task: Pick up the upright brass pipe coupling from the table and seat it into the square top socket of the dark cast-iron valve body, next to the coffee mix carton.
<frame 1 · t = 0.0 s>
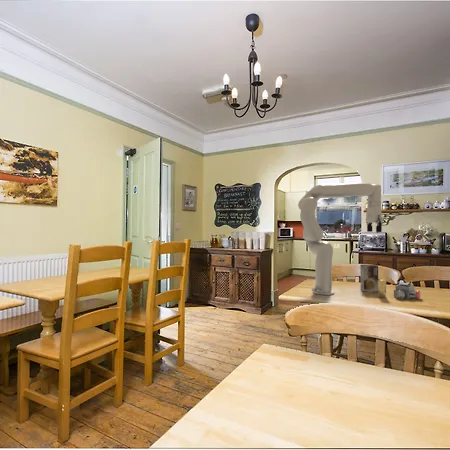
hand: (374, 231, 189), 37 cm above the table, tool pointing down, fingers open, 9 cm apart
valve body: (404, 296, 176), on the table
coffee box: (369, 290, 193), on the table
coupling: (382, 297, 175), on the table
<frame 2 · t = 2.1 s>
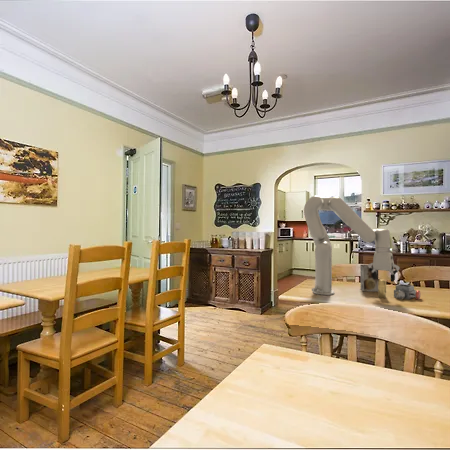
hand: (383, 280, 175), 10 cm above the table, tool pointing down, fingers open, 9 cm apart
nothing on the table moved.
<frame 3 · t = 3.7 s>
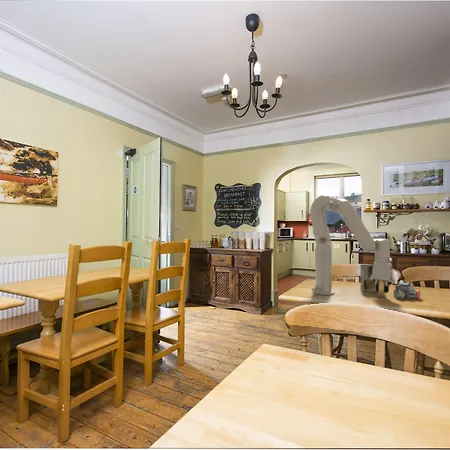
hand: (382, 291, 175), 3 cm above the table, tool pointing down, fingers closed on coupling, 4 cm apart
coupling: (382, 297, 175), on the table, touching gripper
everything else where it was.
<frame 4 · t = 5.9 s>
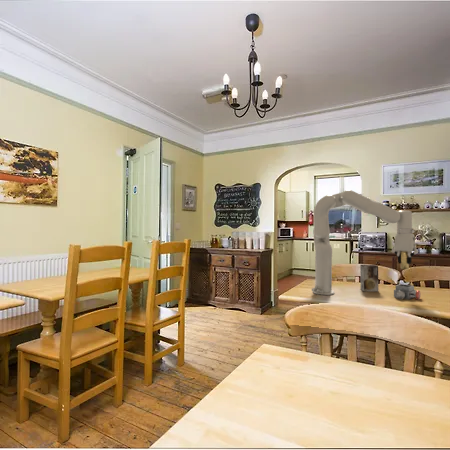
hand: (404, 263, 176), 20 cm above the table, tool pointing down, fingers closed on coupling, 4 cm apart
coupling: (404, 268, 176), point 16 cm above the table, touching gripper
everything else where it was.
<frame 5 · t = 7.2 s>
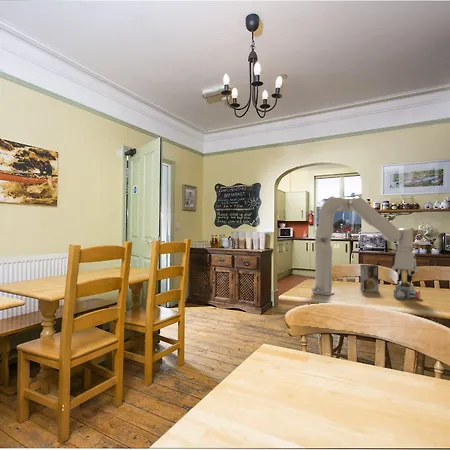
hand: (405, 281, 176), 9 cm above the table, tool pointing down, fingers closed on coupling, 4 cm apart
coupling: (405, 286, 176), point 6 cm above the table, touching gripper
everything else where it was.
when the fingers open (8 cm above the table, at t = 8.0 s): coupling stays where it is, resting on valve body.
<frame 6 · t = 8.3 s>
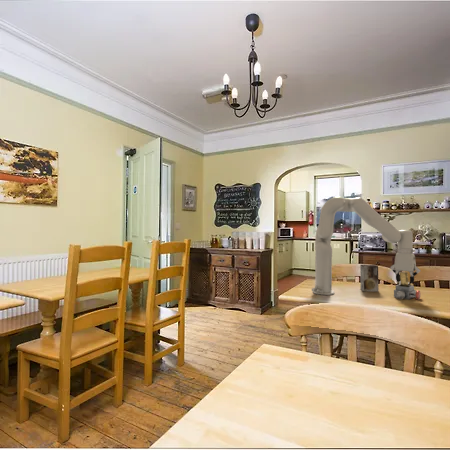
hand: (404, 281, 176), 9 cm above the table, tool pointing down, fingers open, 6 cm apart
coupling: (404, 289, 176), point 4 cm above the table, touching valve body
everything else where it was.
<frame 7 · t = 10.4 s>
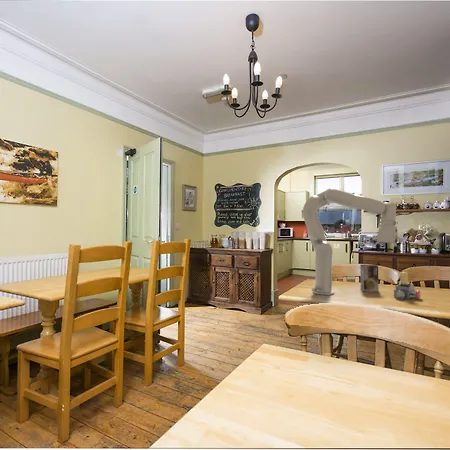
hand: (386, 252, 180), 25 cm above the table, tool pointing down, fingers open, 9 cm apart
nothing on the table moved.
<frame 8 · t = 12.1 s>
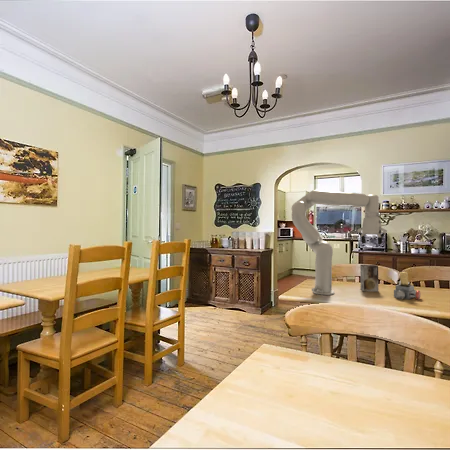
hand: (371, 243, 184), 30 cm above the table, tool pointing down, fingers open, 9 cm apart
nothing on the table moved.
at the end: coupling 0.1 cm off-centre on the valve body, point 4.1 cm above the valve body's base; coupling tilted 3°; the gripper is holding nothing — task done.
